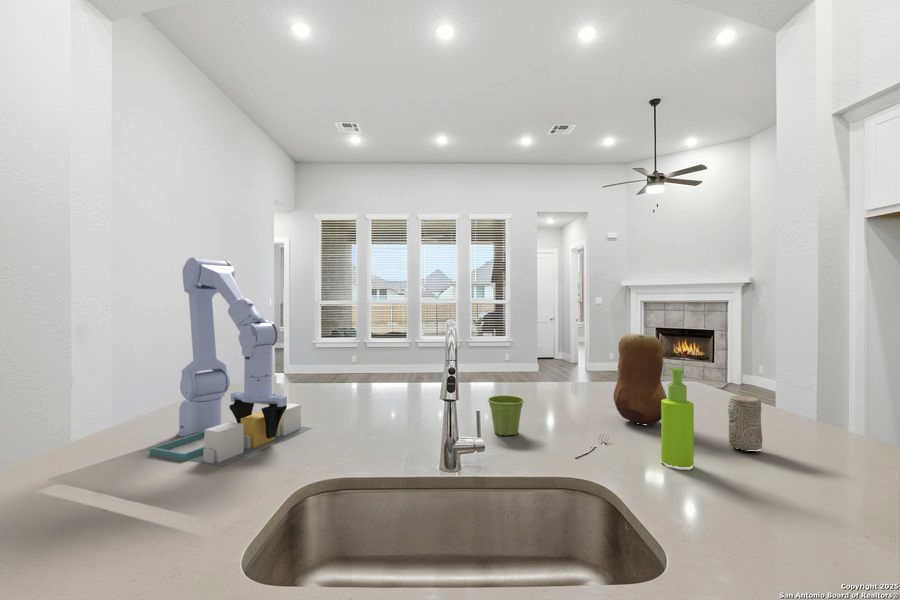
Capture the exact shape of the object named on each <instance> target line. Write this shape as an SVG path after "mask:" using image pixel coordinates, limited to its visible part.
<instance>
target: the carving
mask: <svg viewBox="0 0 900 600" xmlns="http://www.w3.org/2000/svg"><path fill="white" fill-rule="evenodd" d="M727 415H728V440H729V441H728V444H729V445H731V446H733V447H735V448H738V449H743V450H758V449H763V440H764V439H763V433H762V432H763V431H762V430H763V429H762V401H761V399H759V398H757V397H753V396H746V395H732V396H731V397H730V398H729V400H728V407H727ZM731 446H730V447H731ZM733 447H732V448H733ZM735 448H734V449H735ZM738 449H737V450H738ZM743 450H742V451H743Z"/></svg>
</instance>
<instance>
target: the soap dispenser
mask: <svg viewBox="0 0 900 600" xmlns="http://www.w3.org/2000/svg"><path fill="white" fill-rule="evenodd" d="M669 371H671V372H672V382H670V383H668V384H667V399H663V400H661V420H660V421H661V422H660V423H661V425H660V426H661V427H660V428H661V429H660V430H661V431H660V435H661V436H660V438H661V439H660V440H661V442H660V443H661V444H660V446H661V448H660V451H661V452H660V455H661V456H660V458H661V459H660V461H661V460H662V462H664V463H666V464H668V465H672V466H678V467H690V466H692V465H693V464H695V463H694V456H695V455H694V454H695V453H694V448H695V447H694V444H695V443H694V429H695V427H694V425H695V424H694V421H695V420H694V418H695V417H694V416H695V415H694V414H695V413H694V411H695V410H694V409H695V408H694V405H695V404H694V402H692V401H690V400H687V396H688V395H687V390H688V389H687V385H686V384H684V383H683V374H684V372H685V371H684V369H683V368H682V367H679V366H669ZM693 466H694V465H693Z"/></svg>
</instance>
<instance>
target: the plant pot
mask: <svg viewBox="0 0 900 600" xmlns="http://www.w3.org/2000/svg"><path fill="white" fill-rule="evenodd" d="M487 402H488V403H489V407H490V411H491V417H492V419H491V420H492V426H493V433H494V432H495V434H496V435H498V434H500V435H499V436H502V435H510V436H511V435H512V436H516V435H518V434H519V429H520V421H521V420H520V419H521V413H522V408H523V404H524V402H525V399H524V398H523V397H520V396H515V395H503V394H502V395H495V396H490V397H488V398H487ZM517 433H518V434H517ZM515 434H516V435H515Z"/></svg>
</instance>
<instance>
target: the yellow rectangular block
mask: <svg viewBox="0 0 900 600" xmlns="http://www.w3.org/2000/svg"><path fill="white" fill-rule="evenodd" d="M241 424H244V435H246V436H251V447H253V448H255V447H257V446H260V445H262V444H265V443H267V442H269V441H272V440H274V439H275V437H272V438H270V439H268V438H267V437H266V425H265V419H264V415H263V412H262V411H259V412H256V413H252V415H250V416H247V417H243V418H241Z"/></svg>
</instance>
